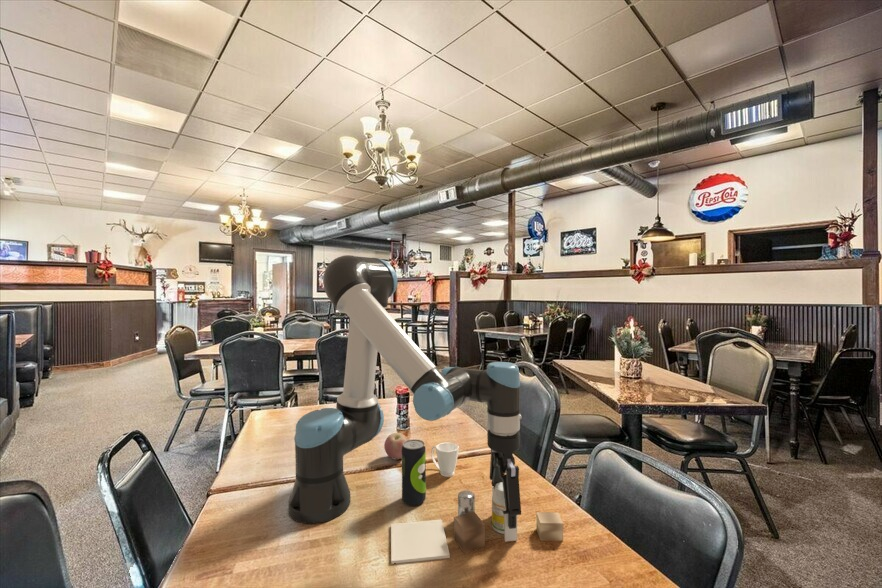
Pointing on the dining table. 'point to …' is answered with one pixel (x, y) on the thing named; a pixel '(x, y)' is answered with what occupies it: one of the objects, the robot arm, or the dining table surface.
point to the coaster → (418, 541)
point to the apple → (395, 445)
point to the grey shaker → (466, 502)
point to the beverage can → (413, 472)
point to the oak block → (549, 526)
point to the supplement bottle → (498, 508)
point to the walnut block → (469, 532)
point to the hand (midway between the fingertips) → (504, 526)
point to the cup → (446, 458)
